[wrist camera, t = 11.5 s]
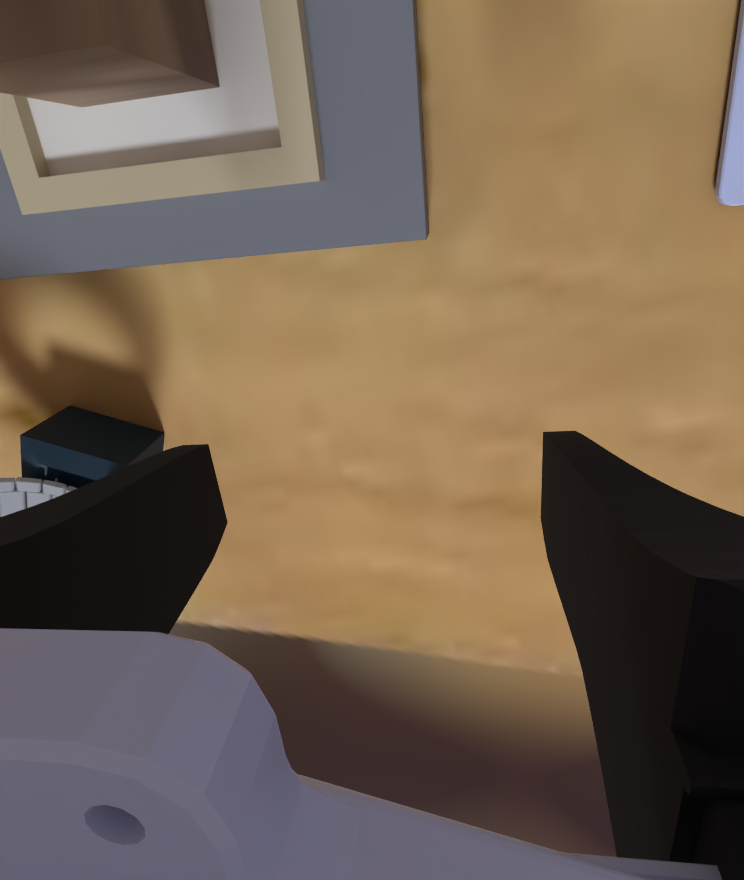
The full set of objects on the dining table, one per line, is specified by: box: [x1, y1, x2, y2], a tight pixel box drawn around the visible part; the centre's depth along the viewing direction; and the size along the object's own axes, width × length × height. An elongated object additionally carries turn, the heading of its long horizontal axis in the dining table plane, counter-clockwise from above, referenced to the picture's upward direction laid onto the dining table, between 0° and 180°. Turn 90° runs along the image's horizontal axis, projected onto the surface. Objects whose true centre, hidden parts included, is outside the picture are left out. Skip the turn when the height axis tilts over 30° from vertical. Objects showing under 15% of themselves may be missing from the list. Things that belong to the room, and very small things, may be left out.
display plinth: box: [0, 0, 429, 279], centre depth 17 cm, size 16×14×3 cm
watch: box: [0, 406, 164, 517], centre depth 21 cm, size 6×8×11 cm
